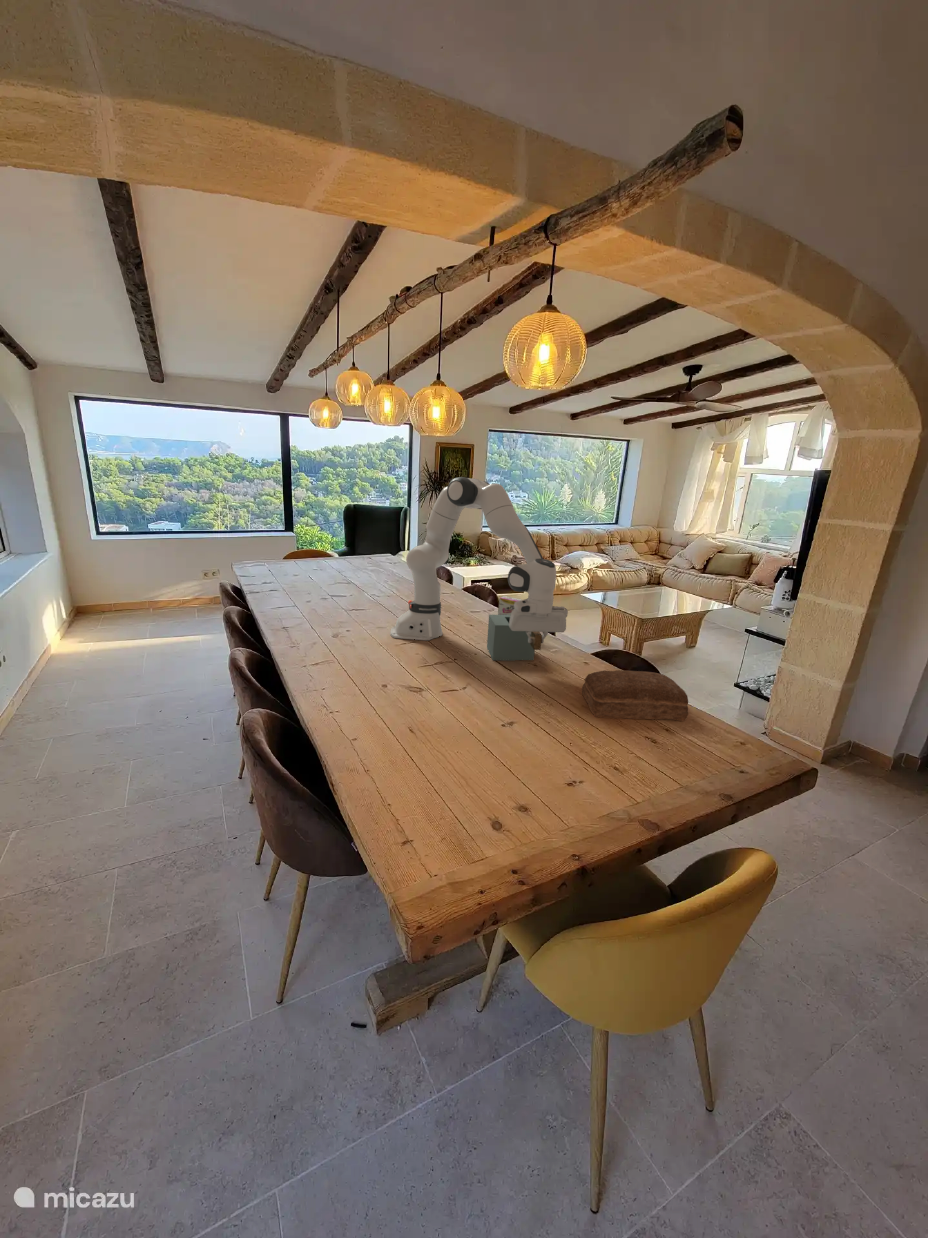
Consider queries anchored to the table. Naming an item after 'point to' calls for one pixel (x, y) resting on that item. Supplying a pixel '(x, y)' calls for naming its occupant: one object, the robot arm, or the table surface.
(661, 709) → the bread
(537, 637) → the token
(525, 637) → the coin box
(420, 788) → the table surface
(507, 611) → the candy bar box
